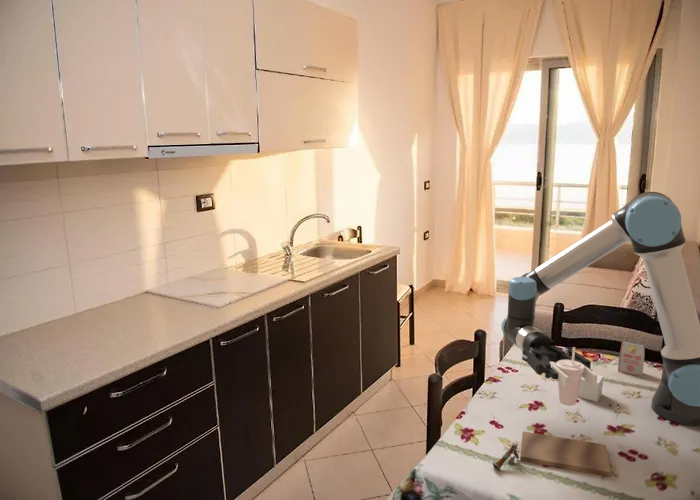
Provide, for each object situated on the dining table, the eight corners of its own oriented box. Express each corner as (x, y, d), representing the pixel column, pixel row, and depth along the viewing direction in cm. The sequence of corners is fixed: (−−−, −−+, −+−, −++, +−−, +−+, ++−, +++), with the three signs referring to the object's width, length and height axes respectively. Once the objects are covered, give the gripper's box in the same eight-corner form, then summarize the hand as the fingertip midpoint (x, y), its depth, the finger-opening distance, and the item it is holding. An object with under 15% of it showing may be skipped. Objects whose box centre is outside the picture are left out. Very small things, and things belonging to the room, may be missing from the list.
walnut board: (605, 449, 137) (605, 444, 136) (610, 476, 126) (610, 472, 125) (522, 435, 143) (522, 431, 143) (520, 460, 132) (520, 456, 132)
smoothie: (586, 408, 128) (590, 352, 125) (559, 408, 128) (563, 353, 126) (575, 395, 135) (579, 342, 132) (549, 395, 135) (553, 342, 132)
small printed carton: (620, 367, 184) (623, 339, 182) (642, 372, 180) (645, 344, 178) (617, 371, 181) (620, 343, 179) (640, 376, 177) (643, 347, 175)
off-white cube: (601, 394, 166) (603, 376, 164) (596, 402, 161) (598, 383, 160) (581, 389, 169) (582, 371, 168) (575, 396, 164) (577, 378, 163)
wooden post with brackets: (523, 456, 133) (519, 443, 131) (502, 479, 129) (497, 466, 127) (517, 453, 134) (513, 440, 132) (496, 475, 131) (492, 462, 129)
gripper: (567, 355, 149) (618, 393, 127) (500, 359, 147) (540, 399, 125) (569, 329, 148) (621, 363, 125) (502, 333, 145) (542, 369, 123)
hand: (581, 381), depth 125 cm, fingers closed on smoothie, 6 cm apart
